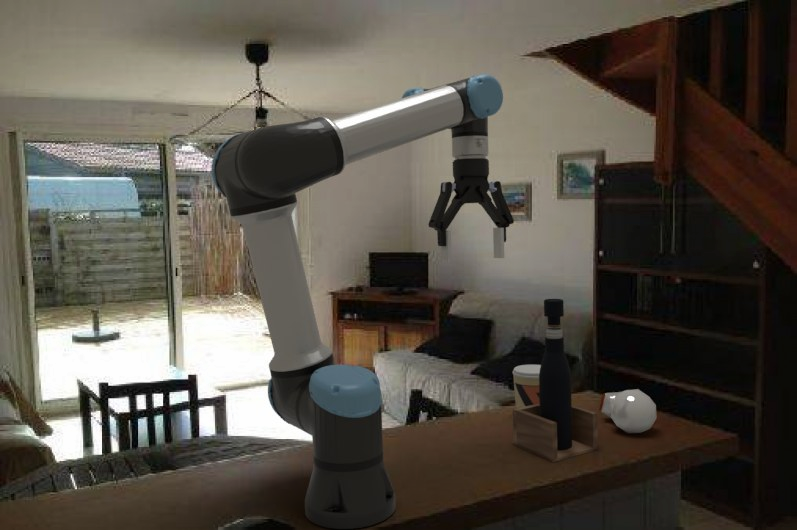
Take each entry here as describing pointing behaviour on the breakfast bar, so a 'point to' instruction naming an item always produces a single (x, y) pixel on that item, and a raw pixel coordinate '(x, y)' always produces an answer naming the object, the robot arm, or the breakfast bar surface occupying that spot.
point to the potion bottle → (629, 410)
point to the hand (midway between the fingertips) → (473, 260)
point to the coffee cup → (526, 385)
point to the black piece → (556, 377)
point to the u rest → (554, 433)
